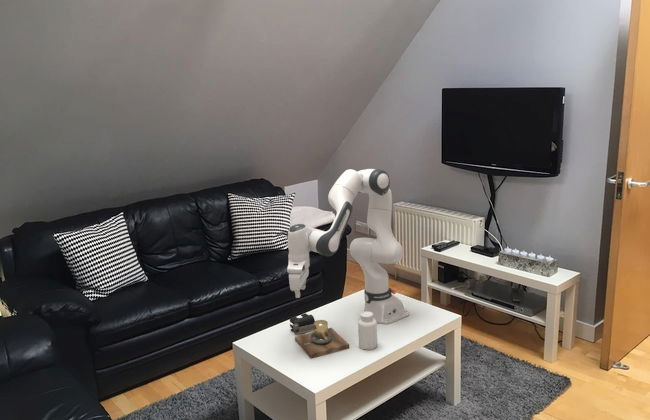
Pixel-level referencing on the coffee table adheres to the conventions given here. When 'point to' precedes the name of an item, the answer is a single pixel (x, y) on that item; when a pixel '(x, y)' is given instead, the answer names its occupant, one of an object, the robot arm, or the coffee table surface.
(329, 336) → the post collar
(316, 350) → the base plate
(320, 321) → the crank handle
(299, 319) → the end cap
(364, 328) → the pill bottle
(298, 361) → the coffee table surface
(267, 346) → the coffee table surface
